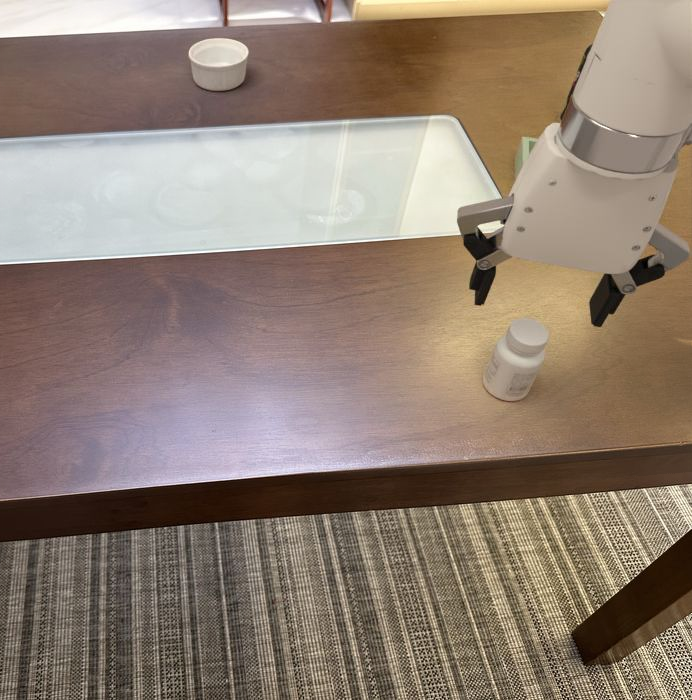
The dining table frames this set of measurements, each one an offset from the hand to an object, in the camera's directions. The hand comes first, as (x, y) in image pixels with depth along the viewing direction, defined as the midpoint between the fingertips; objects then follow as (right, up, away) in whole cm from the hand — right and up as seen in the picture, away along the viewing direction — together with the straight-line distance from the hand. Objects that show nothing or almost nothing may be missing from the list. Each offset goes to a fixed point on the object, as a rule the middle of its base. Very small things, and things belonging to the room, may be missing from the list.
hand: (535, 304), depth 62 cm
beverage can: (+22, +27, +38) cm, 52 cm away
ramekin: (-28, +37, +47) cm, 66 cm away
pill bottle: (0, -7, +8) cm, 11 cm away
